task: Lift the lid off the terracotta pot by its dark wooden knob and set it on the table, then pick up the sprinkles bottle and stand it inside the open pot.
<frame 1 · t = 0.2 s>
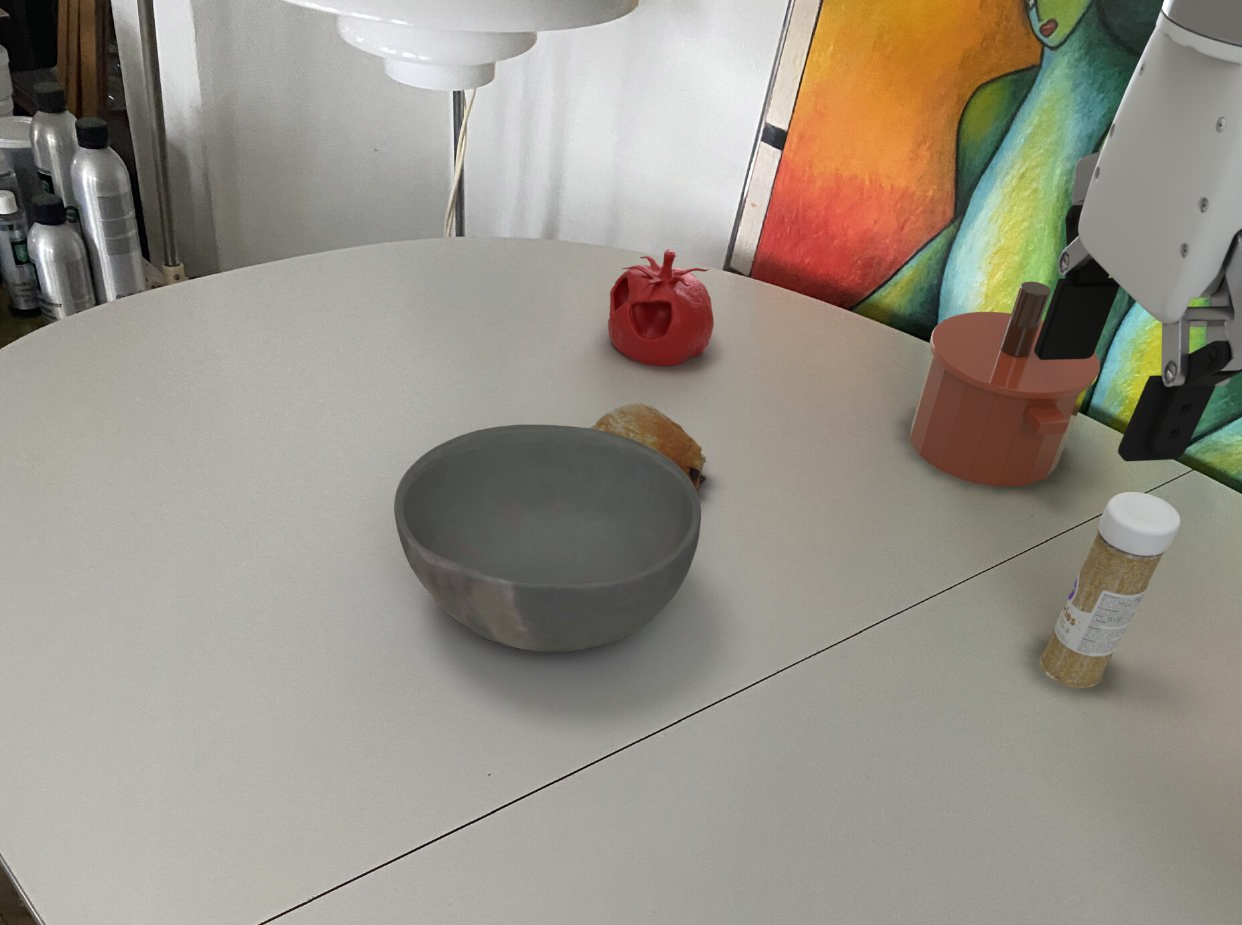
hand: (1102, 404, 60), 25 cm above the table, tool pointing down, fingers open, 9 cm apart
sprinkles bottle: (1067, 676, 86), on the table
pot: (981, 451, 105), on the table
bowl: (545, 616, 86), on the table
bread roll: (638, 486, 98), on the table
red tomato: (655, 353, 113), on the table
lid: (1012, 357, 98), point 8 cm above the table, touching pot
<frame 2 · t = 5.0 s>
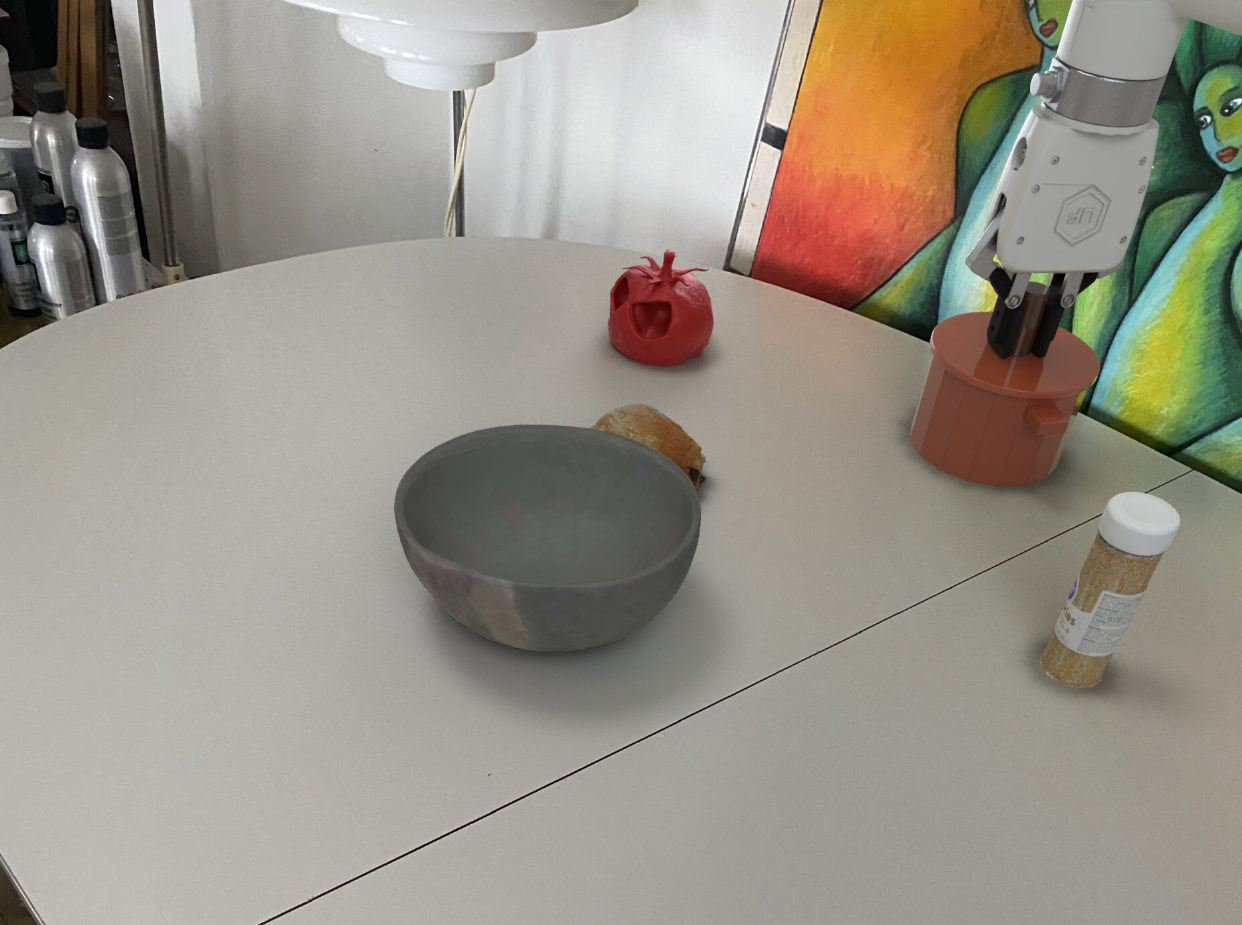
hand: (1016, 348, 98), 9 cm above the table, tool pointing down, fingers closed on lid, 2 cm apart
lid: (1012, 357, 98), point 9 cm above the table, touching gripper, pot
everything else where it was.
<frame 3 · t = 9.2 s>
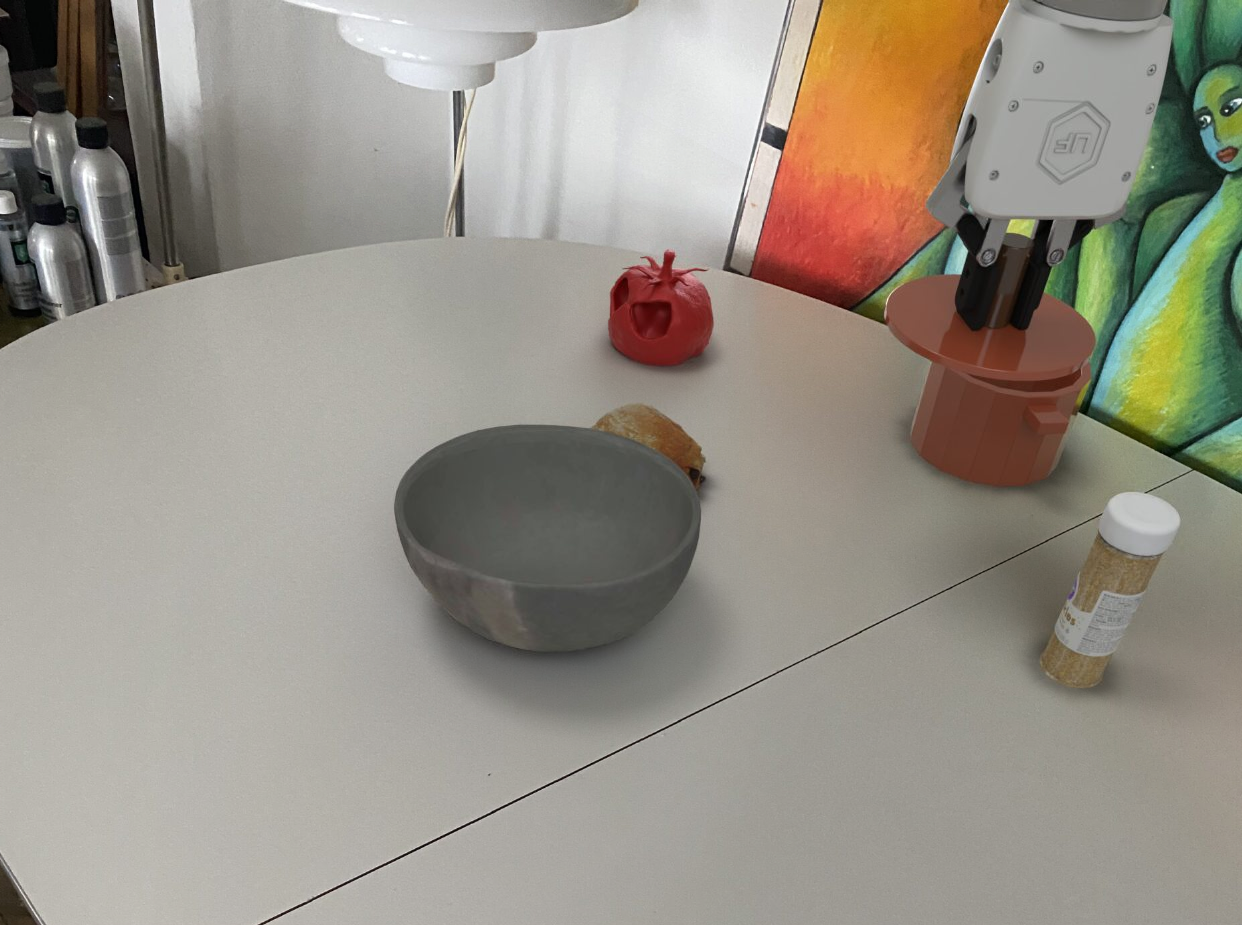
hand: (991, 318, 78), 19 cm above the table, tool pointing down, fingers closed on lid, 2 cm apart
lid: (987, 329, 79), point 19 cm above the table, touching gripper
everything else where it was.
when the fingers open (1 cm above the table, at t = 13.3 s): lid stays where it is, point 1 cm above the table.
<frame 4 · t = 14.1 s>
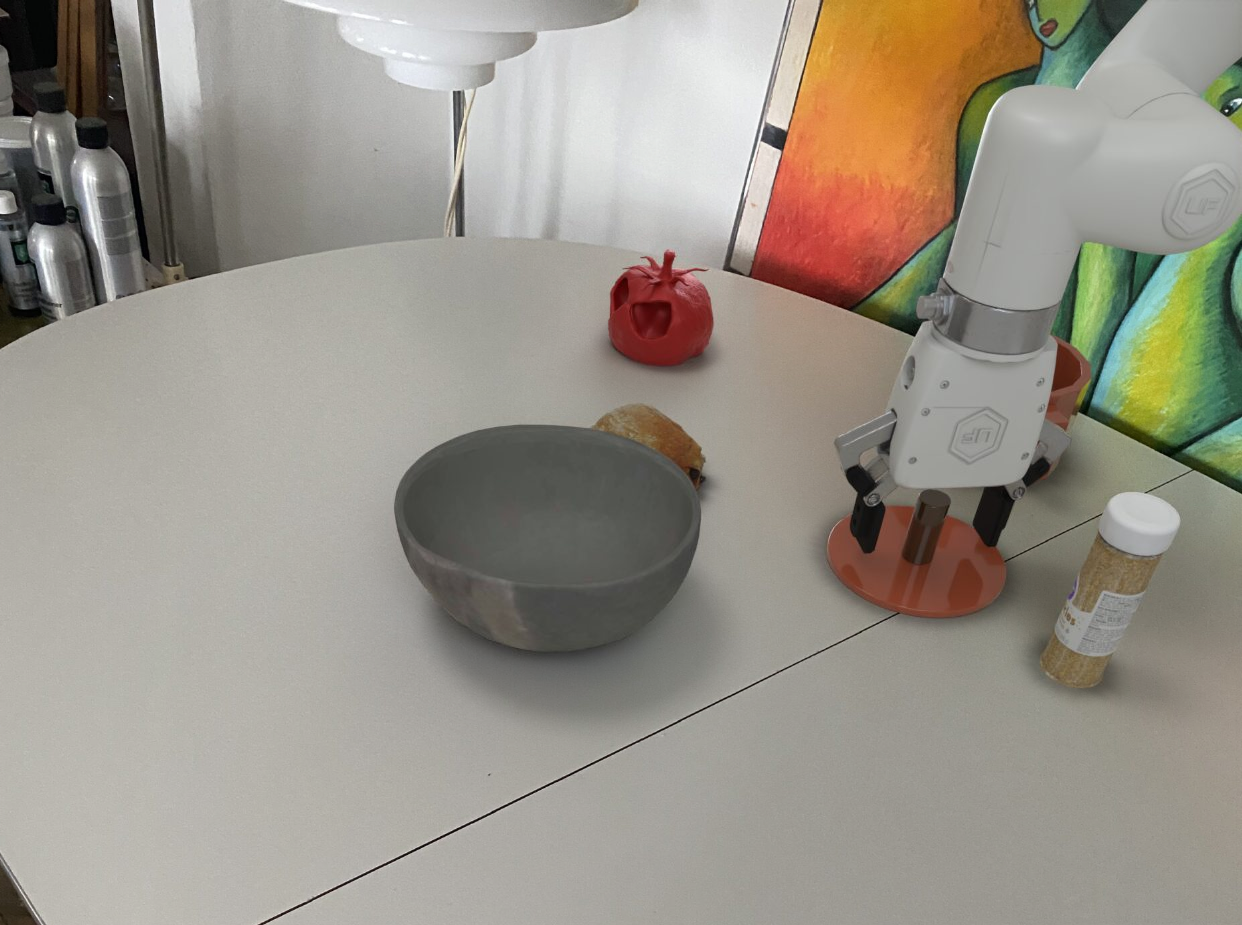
hand: (923, 539, 91), 3 cm above the table, tool pointing down, fingers open, 9 cm apart
lid: (914, 562, 92), point 1 cm above the table
everything else where it was.
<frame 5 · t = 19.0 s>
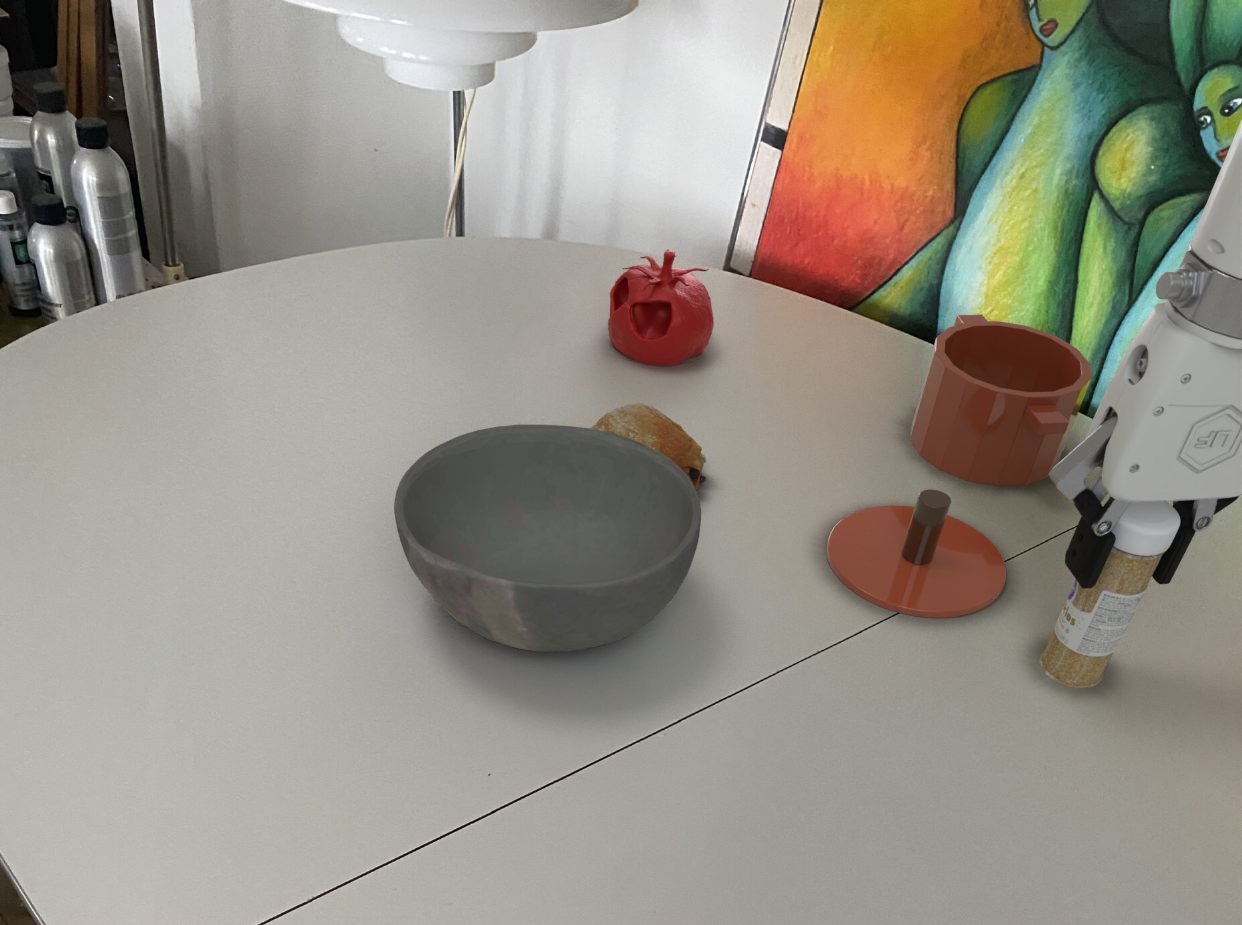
hand: (1116, 571, 79), 9 cm above the table, tool pointing down, fingers closed on sprinkles bottle, 4 cm apart
sprinkles bottle: (1067, 676, 86), on the table, touching gripper
everything else where it was.
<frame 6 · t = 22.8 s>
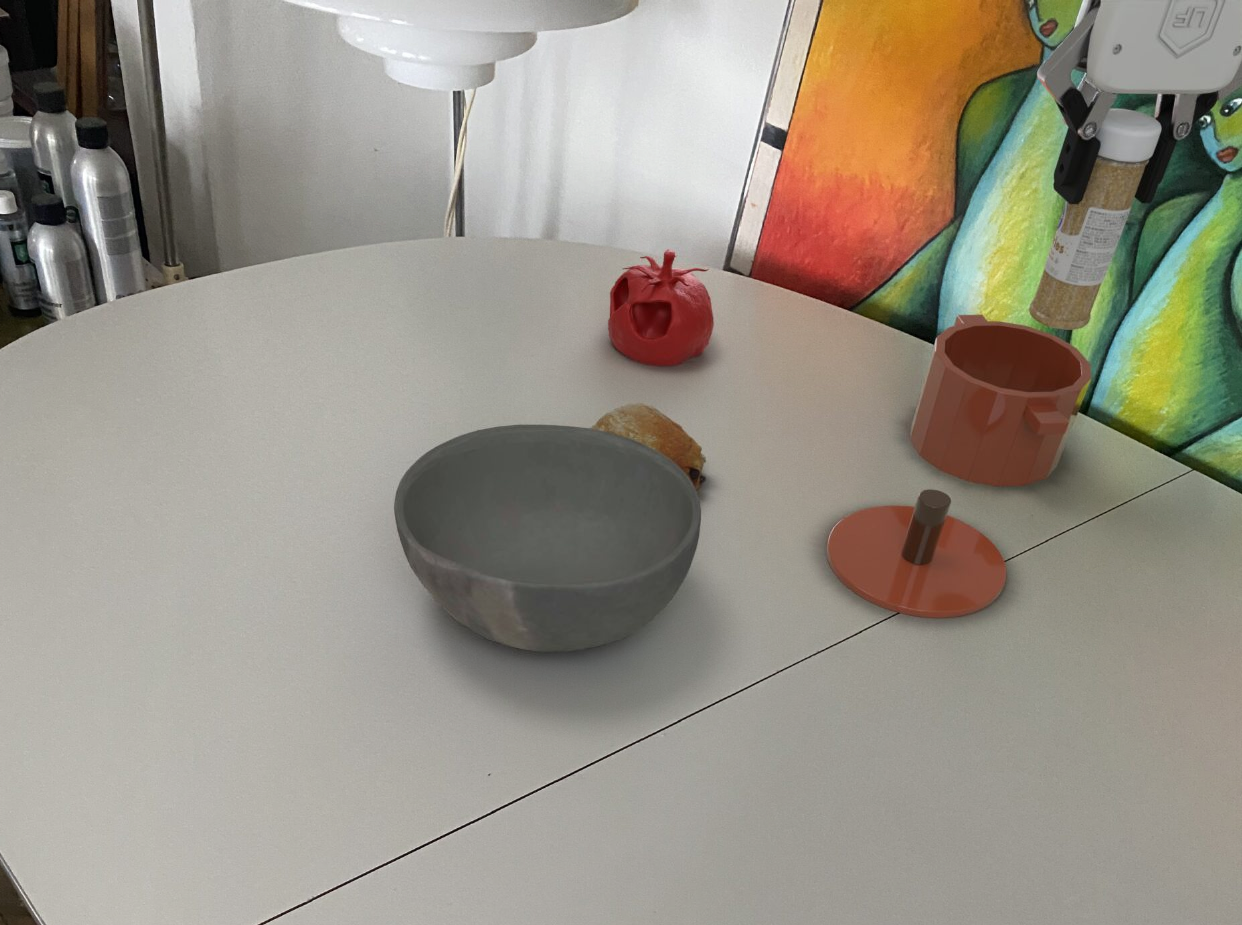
hand: (1102, 193, 83), 23 cm above the table, tool pointing down, fingers closed on sprinkles bottle, 4 cm apart
sprinkles bottle: (1057, 321, 90), point 14 cm above the table, touching gripper
everything else where it was.
when the fingers open (9 cm above the table, at t = 26.9 s): sprinkles bottle stays where it is, resting on pot.
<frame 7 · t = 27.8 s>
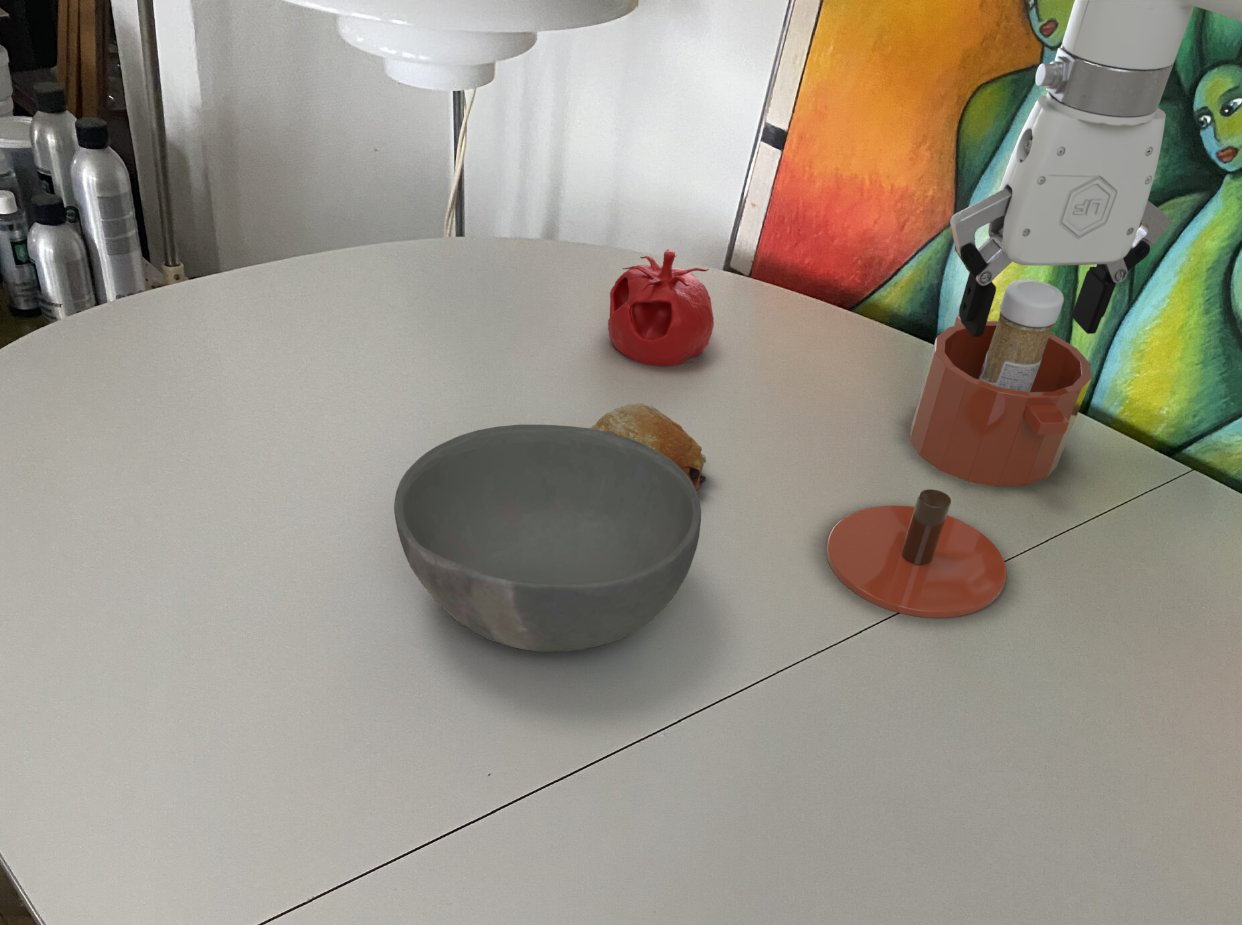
hand: (1027, 327, 96), 11 cm above the table, tool pointing down, fingers open, 9 cm apart
sprinkles bottle: (982, 448, 105), resting on pot
everything else where it was.
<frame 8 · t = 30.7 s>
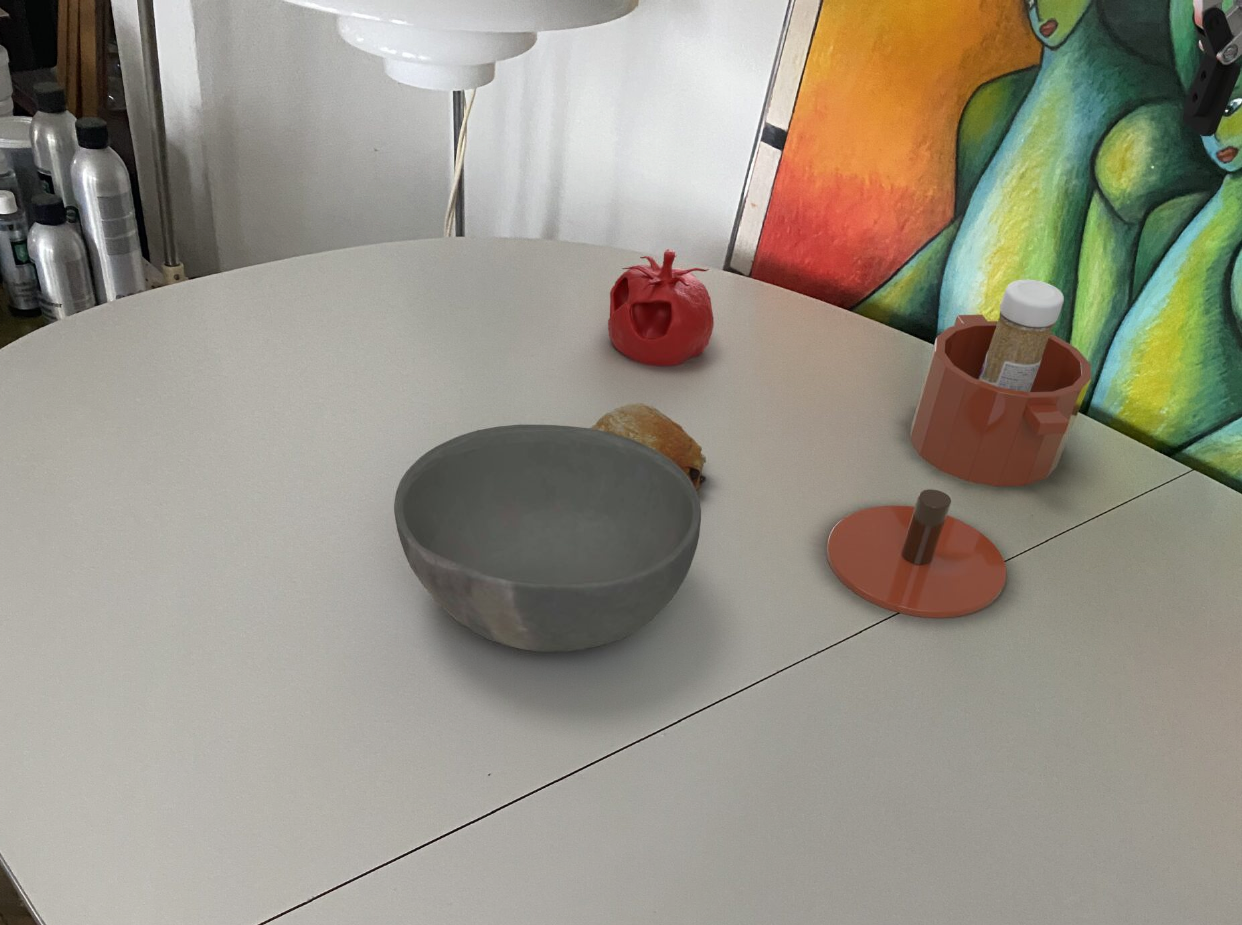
nothing on the table moved.
at the end: lid inside the target area (0.1 cm from its centre), point 0.6 cm above the table; sprinkles bottle inside the target area in the pot (0.1 cm from its centre), point 0.3 cm above the pot's base; sprinkles bottle tilted 0° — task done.
